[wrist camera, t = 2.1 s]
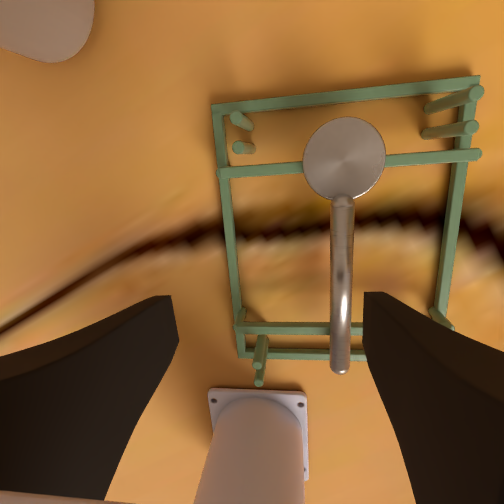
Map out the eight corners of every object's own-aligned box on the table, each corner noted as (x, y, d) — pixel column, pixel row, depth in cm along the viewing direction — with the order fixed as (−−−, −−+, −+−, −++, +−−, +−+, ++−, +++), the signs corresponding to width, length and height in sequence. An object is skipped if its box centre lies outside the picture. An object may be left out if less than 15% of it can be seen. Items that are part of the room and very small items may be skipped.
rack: (435, 357, 21) (471, 409, 17) (239, 353, 23) (227, 398, 19) (474, 77, 15) (542, 48, 11) (213, 105, 18) (187, 90, 13)
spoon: (370, 366, 19) (375, 380, 18) (306, 365, 19) (307, 378, 18) (384, 114, 14) (392, 110, 13) (301, 122, 15) (301, 119, 14)
